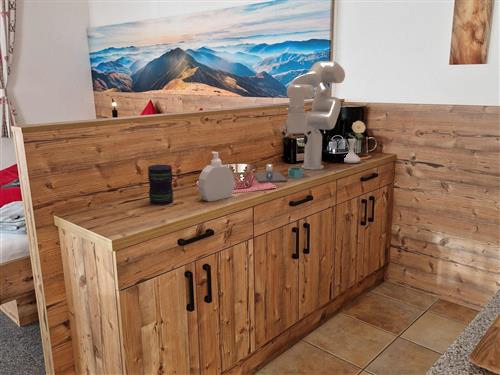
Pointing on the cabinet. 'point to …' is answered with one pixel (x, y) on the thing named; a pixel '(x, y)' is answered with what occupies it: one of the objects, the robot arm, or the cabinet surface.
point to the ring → (295, 172)
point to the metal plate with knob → (270, 175)
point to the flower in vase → (357, 128)
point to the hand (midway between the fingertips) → (295, 144)
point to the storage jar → (160, 184)
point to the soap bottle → (216, 181)
